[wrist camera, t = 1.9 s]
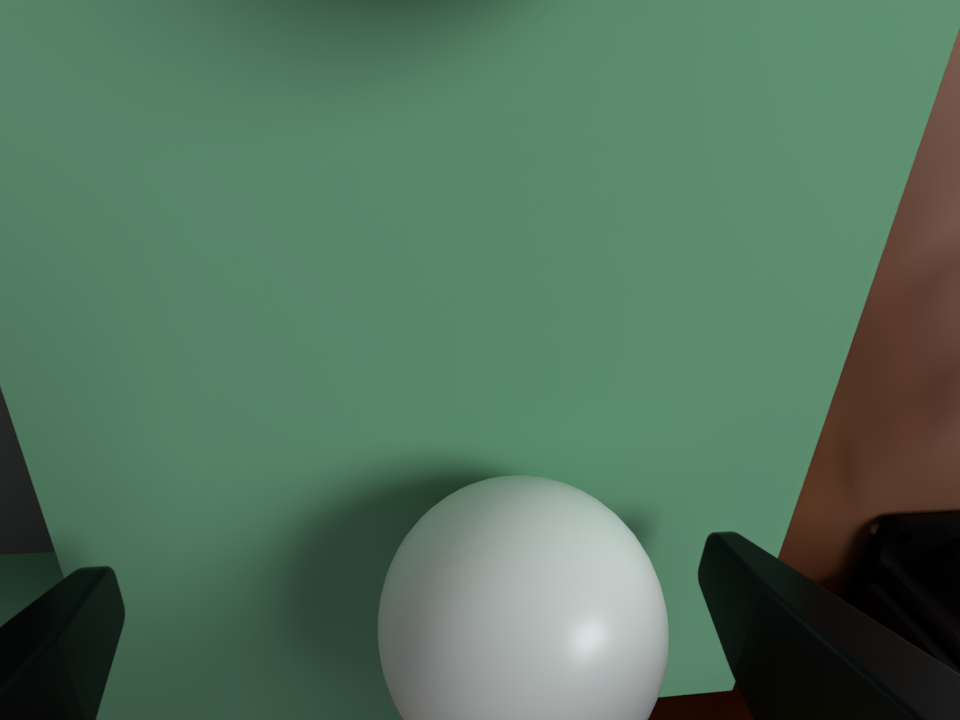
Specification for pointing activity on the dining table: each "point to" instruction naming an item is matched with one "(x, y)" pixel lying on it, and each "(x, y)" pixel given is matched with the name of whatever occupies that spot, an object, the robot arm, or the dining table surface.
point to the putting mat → (420, 298)
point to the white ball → (522, 609)
